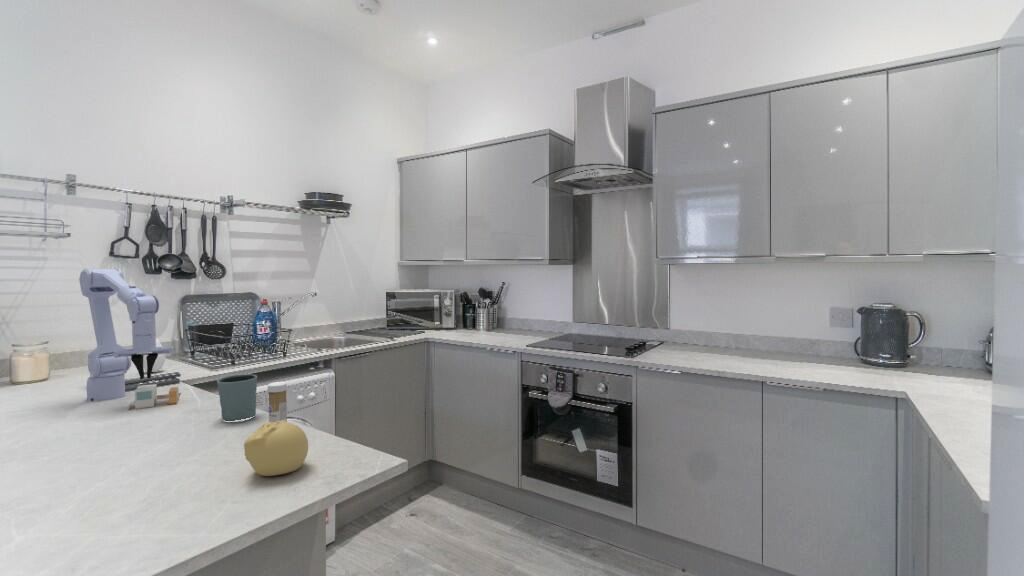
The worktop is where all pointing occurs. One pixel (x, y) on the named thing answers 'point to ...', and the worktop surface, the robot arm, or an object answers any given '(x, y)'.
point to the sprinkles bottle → (277, 401)
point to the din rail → (171, 400)
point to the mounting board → (160, 404)
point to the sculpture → (276, 448)
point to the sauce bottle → (159, 360)
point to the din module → (145, 396)
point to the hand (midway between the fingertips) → (145, 378)
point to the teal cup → (237, 396)
